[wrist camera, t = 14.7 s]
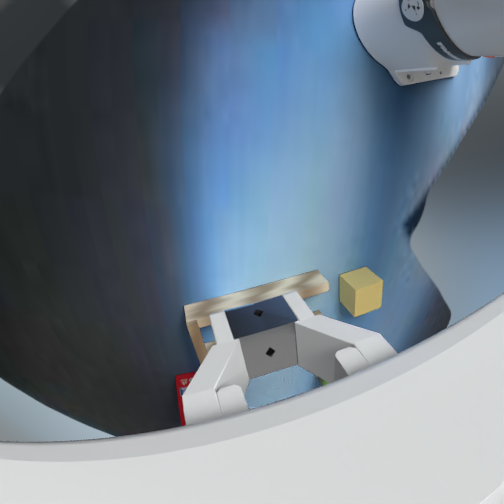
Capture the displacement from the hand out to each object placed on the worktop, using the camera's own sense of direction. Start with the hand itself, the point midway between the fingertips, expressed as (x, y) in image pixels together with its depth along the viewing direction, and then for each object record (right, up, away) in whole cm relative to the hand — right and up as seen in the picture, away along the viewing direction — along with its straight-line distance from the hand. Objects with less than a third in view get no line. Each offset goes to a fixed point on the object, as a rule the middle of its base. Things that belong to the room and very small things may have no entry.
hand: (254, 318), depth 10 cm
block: (+16, -3, +39) cm, 42 cm away
